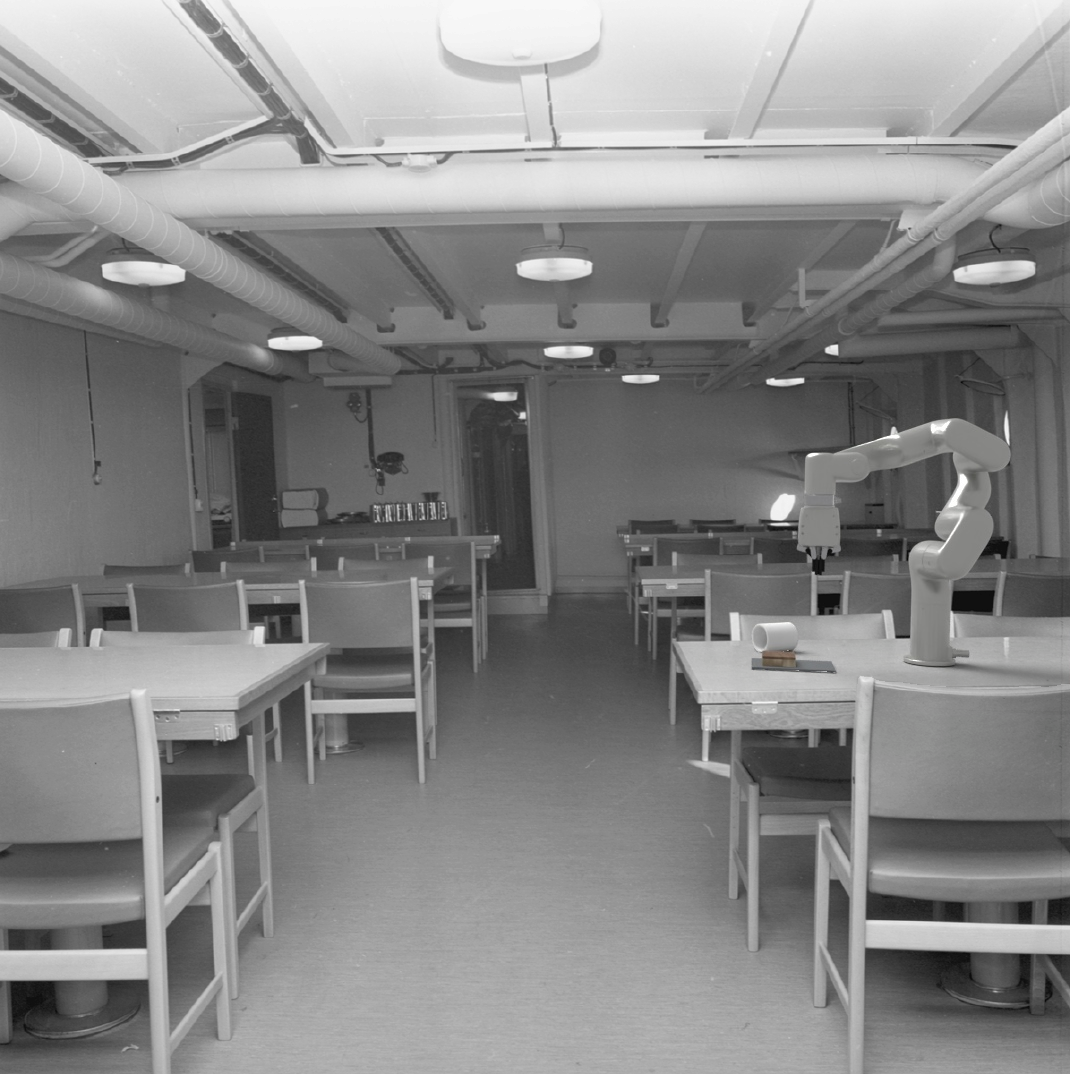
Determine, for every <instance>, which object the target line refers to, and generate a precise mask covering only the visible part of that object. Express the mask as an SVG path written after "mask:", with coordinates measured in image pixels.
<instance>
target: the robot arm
mask: <svg viewBox="0 0 1070 1074" xmlns="http://www.w3.org/2000/svg"><path fill="white" fill-rule="evenodd" d="M944 453H953V454H952V461H953V465H954V468H955V470H956V473H957V474H956V475H957V484H956V487H955V488H954V490H953V492H952V494H951V496H950V497H949V499H948V500H947V502H946V504H945V506H944V507H943V508H942V510H941V511H940V513H939V515H938V516H937V518H936V519H935V523H934V532H935V534H936V535H937V537H939V539H941V541H940V540H924V541H923V540H922V541H920V542H918V543H917V544H915V545H914V546H913V547H912V549H911V550H910V553H909V556H908V570H909V576H910V583H911V584H910V585H911V594H910V595H911V597H910V598H911V599H910V631H909V635H910V637H909V642H910V643H909V654H906V655H903V662H905V663H908V664H912V665H917V666H927V667H928V666H929V667H950V666H955V665H956V663H957V661H956V658H966V659H969V658H970V650H969V649H956V648H953V646H951V645H950V644H951V643H950V641H951V613H952V612H951V610H952V609H951V607H952V591H951V586H950V583H949V581H957V580H961V579H963V578H964V577H965V576H966V575H968V574H969V572H970V571H971V570H972V569H973V567H974V565H975V564H976V562H977V560H978V559H979V558H980V556H981V554H982V553H983V551H984V549H985V548H986V546H987V545H988V543H989V541H990V539H991V537H992V535H993V532H994V519H993V517H992V516H991V515H992V514H991V513H990V512H989V511H988V510H987V509H985V508H986V506H987V504H988V503H989V500H990V498H991V494H992V483H991V479H990V475H989V473H995V472H999V471H1002V470H1003V469H1004V468H1005V467H1006V466H1007V465H1008V464H1009V462H1010V460H1011V449H1010V447H1009V444H1008V443H1006V441H1005V440H1003V439H1002V438H1000V437H998V436H996V435H995V434H993V433H991V432H989V431H987V430H985V429H983V428H981V427H979V426H977V425H975V424H974V423H971V422H969V421H967V420H965V419H962V418H957V417H956V418H955V417H954V418H945V419H937V420H932V421H930V422H926V423H924V424H921V425H918V426H915V427H912V428H909V429H906V430H903V431H901V432H897V433H894V434H891V435H888V436H883V437H881V438H878V439H875V440H873V441H869V442H865V443H862V444H859V445H855V446H853V447H850V448H846V449H843V450H841V451H837V452H834V453H831V452H811V453H808V454H807V455H806V456H805V461H804V495H803V497H804V503H803V505H804V506H802V507H801V508H800V512H799V515H798V516H799V518H798V525H797V526H798V527H797V542H798V543H797V546H796V550H797V551H799V552H802V553H806V554H807V555H808V556H809V557H810V558H811V560H812V561H811V571H812V572H814V575H815V576H818V575H819V576H822V575H823V573H824V572H825V568H826V567H825V566H826V565H825V564H826V563H825V562H826V559H827V558H828V557H829V556H830V555H832V554H834V553H839V552H841V550H842V547H841V521H840V511H839V507H836V505H837V504H842V497H839V496H836V493H837V492H836V485H837V484H836V483H857V482H861V481H863V480H864V479H866V478H867V477H868V476H869V474H870V473H871V472H876V471H881V470H890V469H891V470H892V469H897V468H901V467H905V466H908V465H911V464H915V463H916V462H919V461H922V460H925V459H928V458H931V457H935V456H937V455H941V454H944ZM816 548H821V551H820V556H817V552H816V551H817V550H816ZM818 557H819V558H818Z"/></svg>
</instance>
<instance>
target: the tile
mask: <svg viewBox="0 0 1070 1074" xmlns="http://www.w3.org/2000/svg"><path fill="white" fill-rule="evenodd" d="M761 658H762V666H779V667H796V660H797V657H796V653H795V651H784V652H783V651H762V653H761Z"/></svg>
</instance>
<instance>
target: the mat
mask: <svg viewBox="0 0 1070 1074" xmlns="http://www.w3.org/2000/svg"><path fill="white" fill-rule="evenodd" d="M754 669H768V670H767V671H776V670H799V671H827V672H836V673H837V670H836V668H835V666H834V664H833V661H831V660H811V659H808V660H807V659H796V667H779V666H762V657H761V658H760V657H751V670H754Z"/></svg>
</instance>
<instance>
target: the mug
mask: <svg viewBox="0 0 1070 1074" xmlns="http://www.w3.org/2000/svg"><path fill="white" fill-rule="evenodd" d="M751 643H752V646H753V647H754V649H755V650H756V652H758V653H759V652H762V651H784V652H788V651H787V650H792V651H794V650H795V649H796V648H797V646H798V644H799V632H798V629H797V627H796V625H794V624H793V622H790V621H787V622H786V621H785V622H770V623H769V622H766V623H765V622H764V623H757V624H755V626H754V627H753V628H752V631H751Z"/></svg>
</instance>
